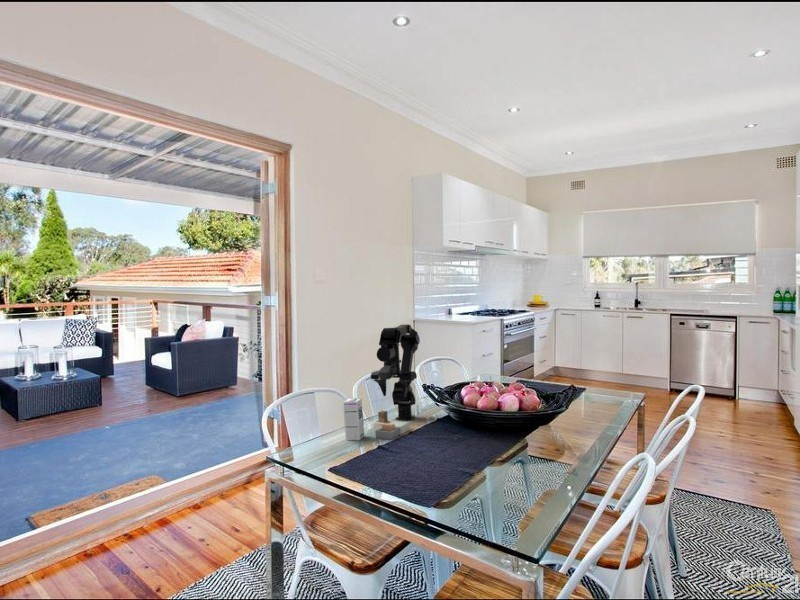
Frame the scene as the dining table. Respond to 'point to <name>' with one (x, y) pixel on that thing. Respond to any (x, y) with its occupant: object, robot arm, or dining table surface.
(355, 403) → the syrup box
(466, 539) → the dining table surface
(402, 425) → the deck
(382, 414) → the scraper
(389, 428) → the tile
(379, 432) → the tray
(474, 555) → the dining table surface
